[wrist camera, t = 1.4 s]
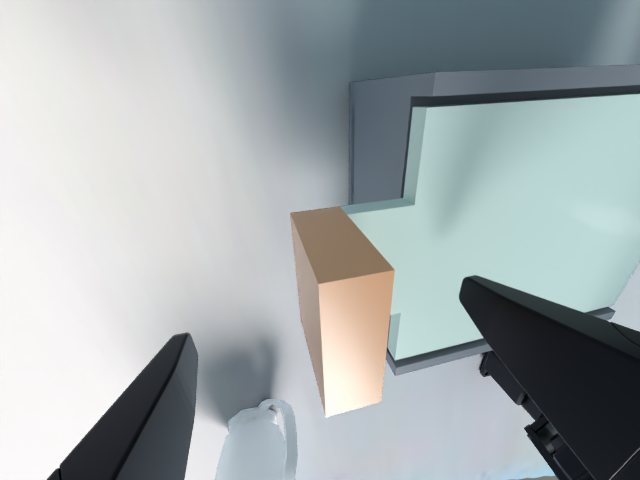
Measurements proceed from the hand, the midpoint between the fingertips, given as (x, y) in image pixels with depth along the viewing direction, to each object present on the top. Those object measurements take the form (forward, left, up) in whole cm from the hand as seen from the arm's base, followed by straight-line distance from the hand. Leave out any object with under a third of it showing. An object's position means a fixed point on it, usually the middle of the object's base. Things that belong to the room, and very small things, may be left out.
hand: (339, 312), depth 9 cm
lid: (-8, 0, -2) cm, 9 cm away
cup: (+5, +18, -9) cm, 21 cm away
